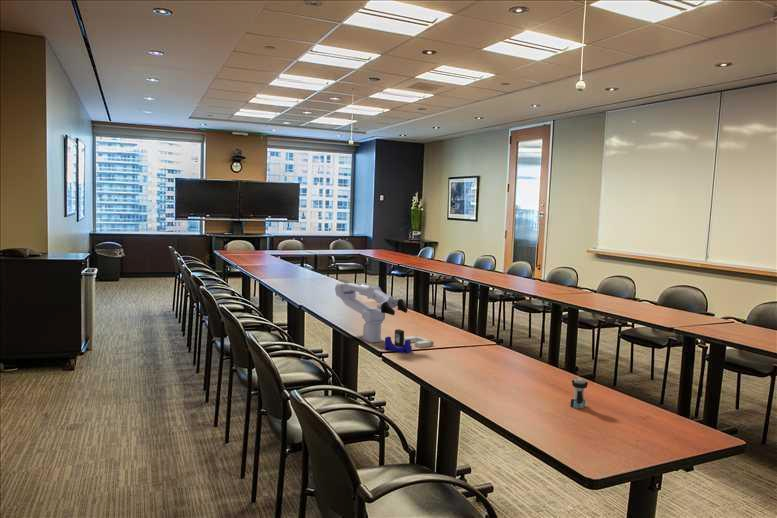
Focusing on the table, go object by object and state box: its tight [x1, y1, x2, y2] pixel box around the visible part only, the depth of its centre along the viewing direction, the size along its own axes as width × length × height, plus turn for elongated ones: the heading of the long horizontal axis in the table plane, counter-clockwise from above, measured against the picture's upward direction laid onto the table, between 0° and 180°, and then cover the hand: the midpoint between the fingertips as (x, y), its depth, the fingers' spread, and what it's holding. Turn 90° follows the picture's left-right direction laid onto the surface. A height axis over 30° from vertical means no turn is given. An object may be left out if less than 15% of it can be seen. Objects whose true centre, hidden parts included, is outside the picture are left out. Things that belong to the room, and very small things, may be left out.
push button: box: [570, 377, 589, 409], centre depth 193 cm, size 7×5×10 cm
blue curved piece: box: [384, 336, 413, 354], centre depth 260 cm, size 12×4×6 cm, turn 62°
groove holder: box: [404, 335, 434, 349], centre depth 276 cm, size 14×9×2 cm, turn 35°
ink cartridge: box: [394, 328, 405, 347], centre depth 269 cm, size 5×2×8 cm, turn 33°
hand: (400, 312), depth 261 cm, fingers open, 7 cm apart
